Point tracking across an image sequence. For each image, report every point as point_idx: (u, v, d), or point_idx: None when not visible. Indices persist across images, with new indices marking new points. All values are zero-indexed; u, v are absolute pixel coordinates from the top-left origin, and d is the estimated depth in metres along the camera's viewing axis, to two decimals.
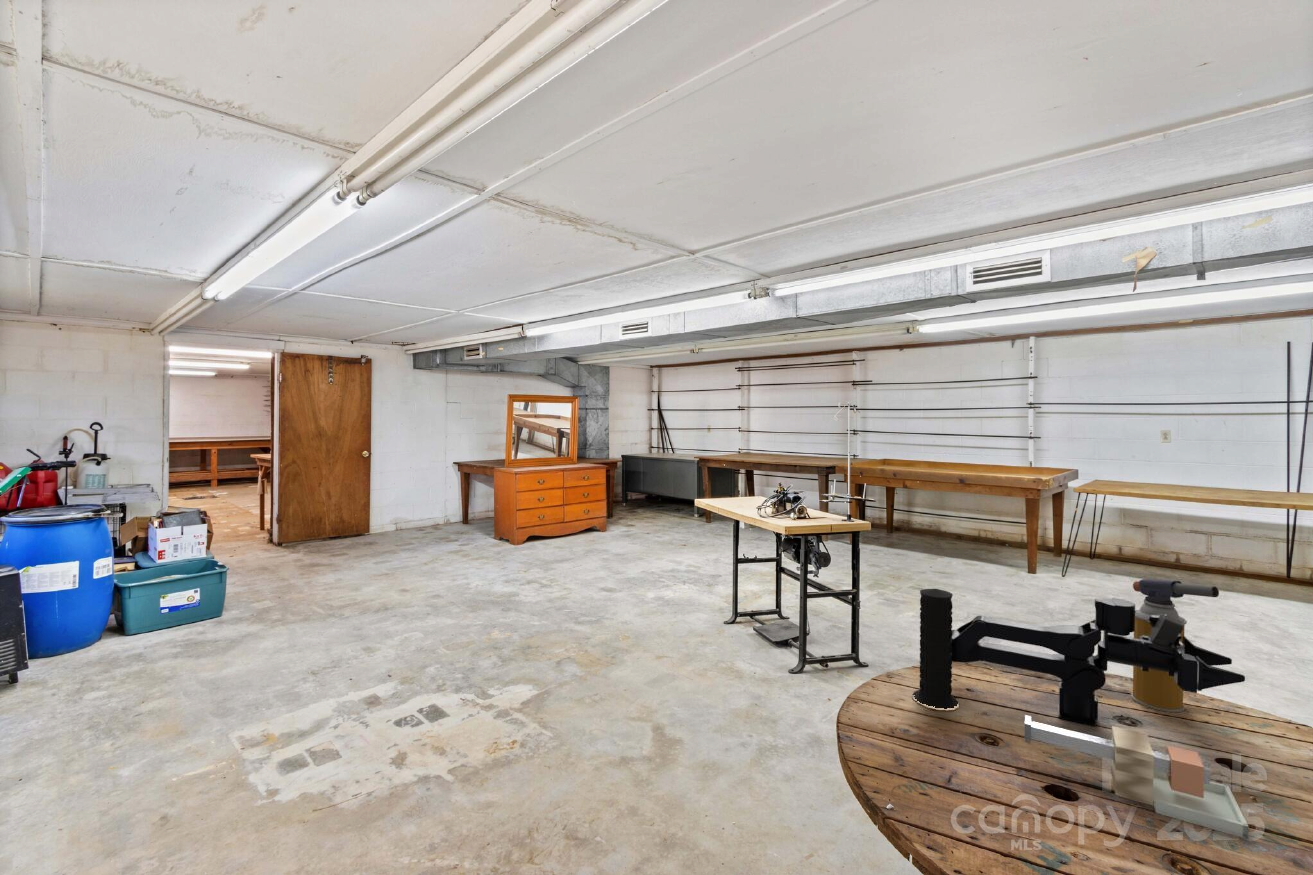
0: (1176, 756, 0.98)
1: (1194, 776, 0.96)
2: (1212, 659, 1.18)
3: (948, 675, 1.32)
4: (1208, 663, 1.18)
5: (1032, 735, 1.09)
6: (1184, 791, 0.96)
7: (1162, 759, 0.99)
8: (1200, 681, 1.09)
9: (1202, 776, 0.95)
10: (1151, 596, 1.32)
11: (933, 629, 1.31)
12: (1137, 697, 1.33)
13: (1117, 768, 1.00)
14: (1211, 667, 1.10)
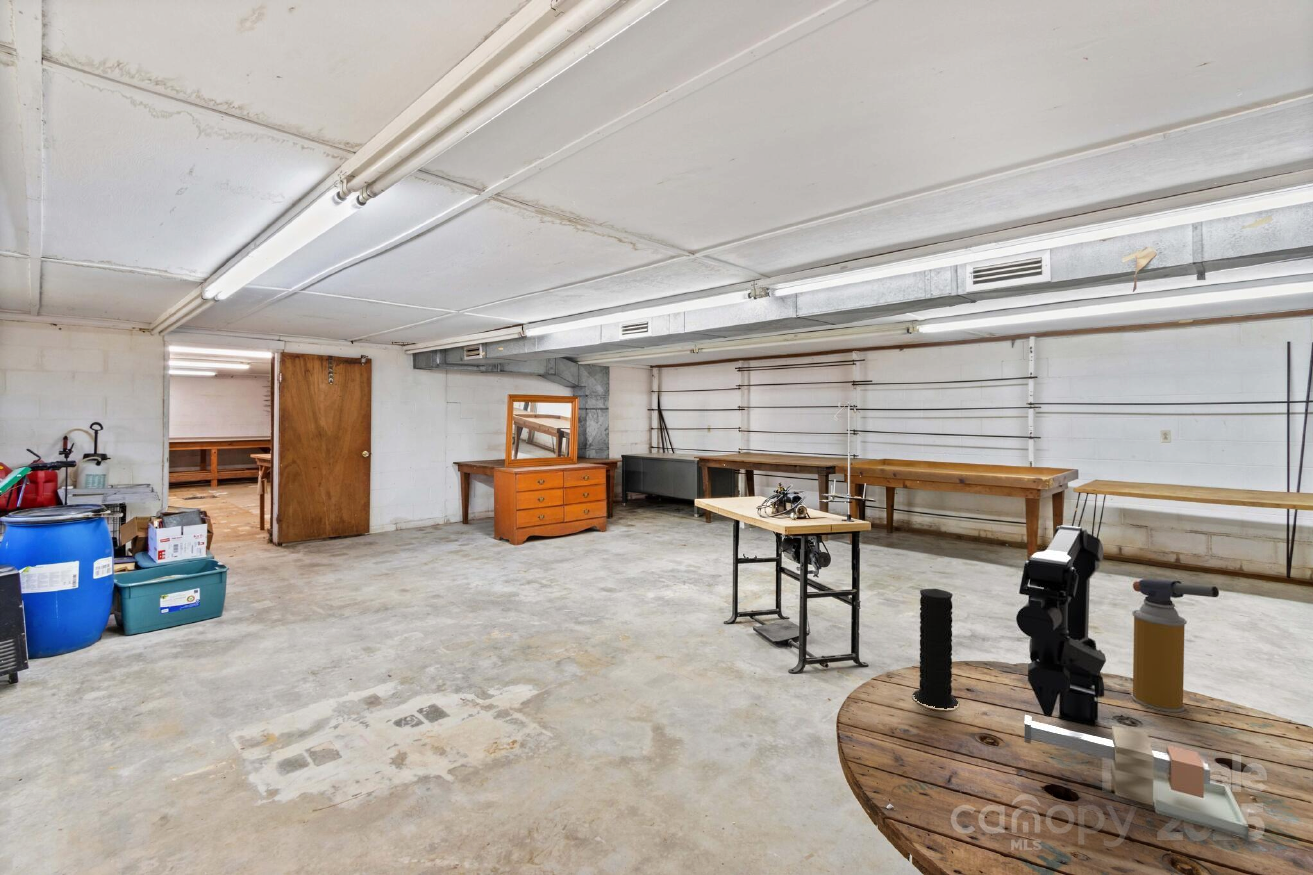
0: (1176, 756, 0.98)
1: (1194, 776, 0.96)
2: None
3: (948, 675, 1.32)
4: None
5: (1032, 735, 1.09)
6: (1184, 791, 0.96)
7: (1162, 759, 0.99)
8: (1042, 685, 1.03)
9: (1202, 776, 0.95)
10: (1151, 596, 1.32)
11: (933, 629, 1.31)
12: (1137, 697, 1.33)
13: (1117, 768, 1.00)
14: (1057, 694, 1.03)
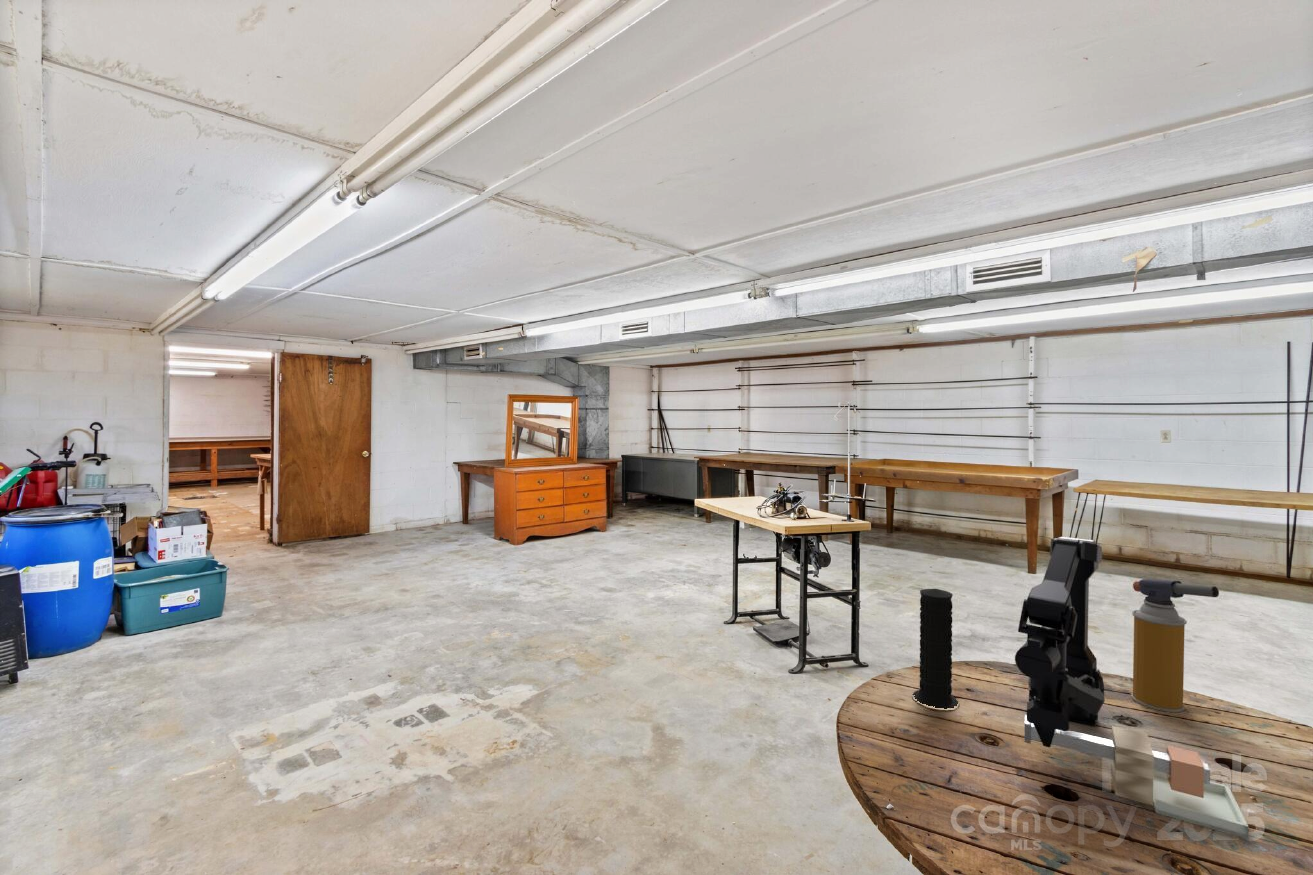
0: (1176, 756, 0.98)
1: (1194, 776, 0.96)
2: None
3: (948, 675, 1.32)
4: None
5: (1032, 735, 1.09)
6: (1184, 791, 0.96)
7: (1162, 759, 0.99)
8: None
9: (1202, 776, 0.95)
10: (1151, 596, 1.32)
11: (933, 629, 1.31)
12: (1137, 697, 1.33)
13: (1117, 768, 1.00)
14: None
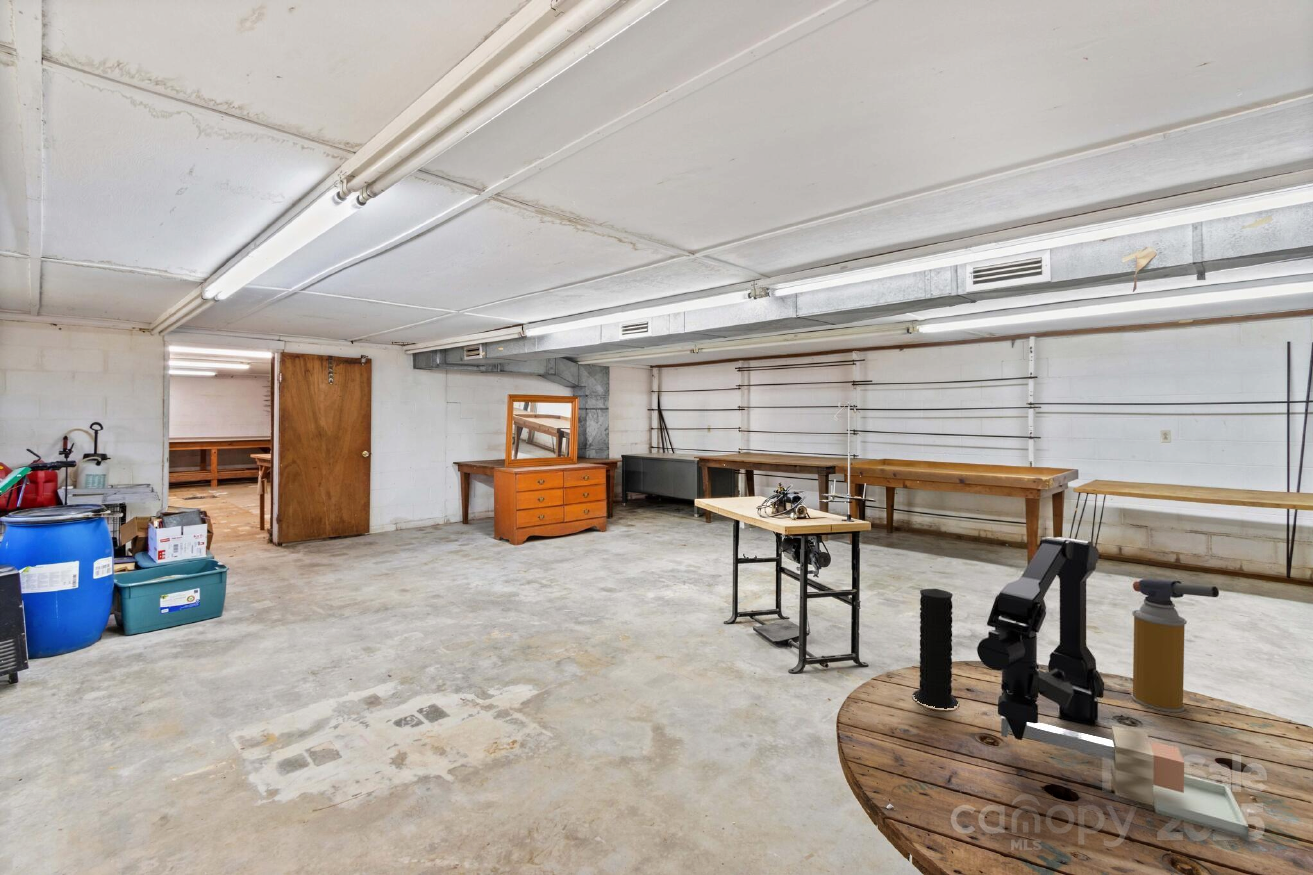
0: (1157, 751, 0.99)
1: (1174, 771, 0.97)
2: None
3: (948, 675, 1.32)
4: None
5: (1009, 729, 1.12)
6: (1165, 786, 0.98)
7: None
8: None
9: (1182, 771, 0.96)
10: (1151, 596, 1.32)
11: (933, 629, 1.31)
12: (1137, 697, 1.33)
13: (1117, 768, 1.00)
14: None
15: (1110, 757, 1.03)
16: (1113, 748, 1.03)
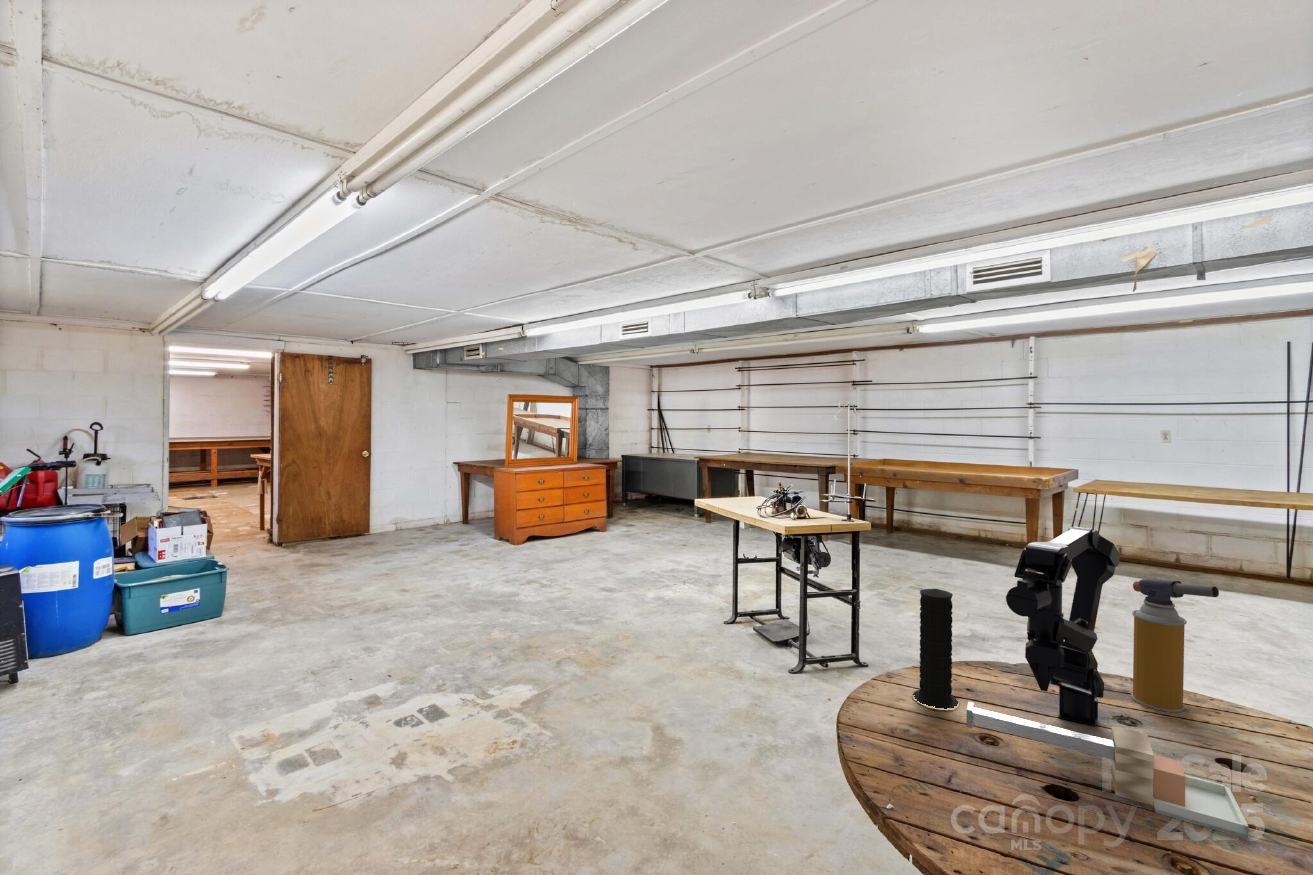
0: (1158, 765, 0.99)
1: (1176, 785, 0.97)
2: None
3: (948, 675, 1.32)
4: None
5: (974, 720, 1.15)
6: (1166, 800, 0.98)
7: (1091, 742, 1.04)
8: (1038, 662, 1.11)
9: (1183, 785, 0.96)
10: (1151, 596, 1.32)
11: (933, 629, 1.31)
12: (1137, 697, 1.33)
13: (1117, 768, 1.00)
14: (1052, 670, 1.12)
15: (1069, 747, 1.06)
16: (1072, 738, 1.06)
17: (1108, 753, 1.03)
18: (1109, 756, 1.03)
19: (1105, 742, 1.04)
